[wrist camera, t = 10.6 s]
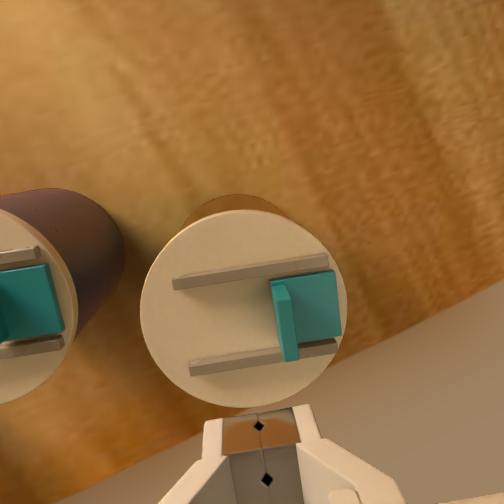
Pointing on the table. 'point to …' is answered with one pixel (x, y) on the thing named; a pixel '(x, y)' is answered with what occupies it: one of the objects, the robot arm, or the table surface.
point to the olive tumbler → (233, 304)
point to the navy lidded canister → (56, 274)
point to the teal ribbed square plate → (28, 303)
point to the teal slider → (305, 310)
